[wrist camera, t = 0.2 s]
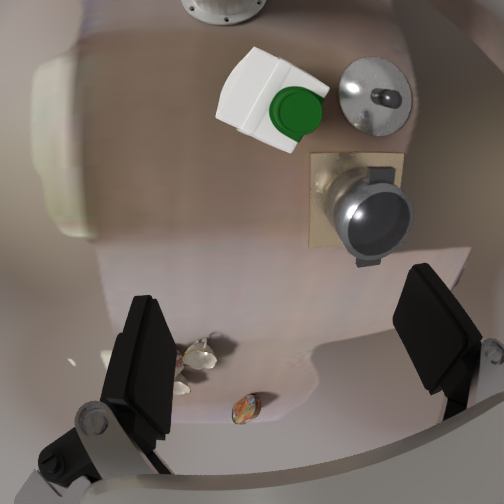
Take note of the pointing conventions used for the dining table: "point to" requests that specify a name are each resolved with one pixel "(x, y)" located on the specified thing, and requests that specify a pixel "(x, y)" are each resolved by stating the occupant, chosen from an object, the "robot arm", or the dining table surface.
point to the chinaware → (193, 363)
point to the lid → (374, 96)
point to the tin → (246, 409)
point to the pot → (358, 203)
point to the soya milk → (272, 100)
